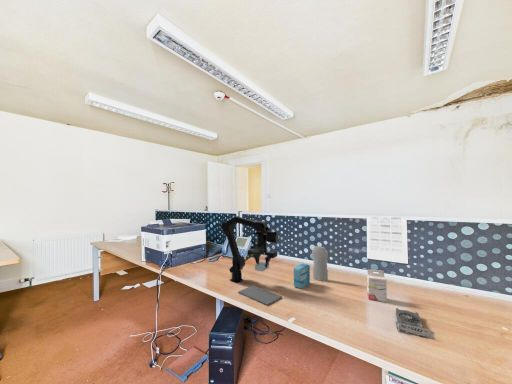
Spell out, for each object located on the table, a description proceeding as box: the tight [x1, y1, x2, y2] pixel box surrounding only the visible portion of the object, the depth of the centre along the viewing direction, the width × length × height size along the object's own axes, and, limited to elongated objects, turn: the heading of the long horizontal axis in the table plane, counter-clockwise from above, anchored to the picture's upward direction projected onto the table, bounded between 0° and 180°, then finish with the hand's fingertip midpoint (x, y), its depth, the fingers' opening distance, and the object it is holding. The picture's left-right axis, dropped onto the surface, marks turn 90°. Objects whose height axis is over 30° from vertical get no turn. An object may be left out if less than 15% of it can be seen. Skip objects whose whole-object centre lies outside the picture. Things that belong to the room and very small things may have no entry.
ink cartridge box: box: [366, 269, 388, 303], centre depth 116 cm, size 9×5×15 cm, turn 71°
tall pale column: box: [311, 245, 329, 282], centre depth 144 cm, size 11×4×22 cm, turn 55°
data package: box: [293, 263, 311, 289], centre depth 135 cm, size 12×4×12 cm, turn 138°
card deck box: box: [254, 261, 270, 272], centre depth 136 cm, size 6×8×3 cm, turn 149°
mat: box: [237, 285, 283, 307], centre depth 122 cm, size 22×12×1 cm, turn 46°
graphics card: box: [395, 307, 436, 340], centre depth 93 cm, size 17×4×12 cm
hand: (262, 267), depth 136 cm, fingers closed on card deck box, 5 cm apart
